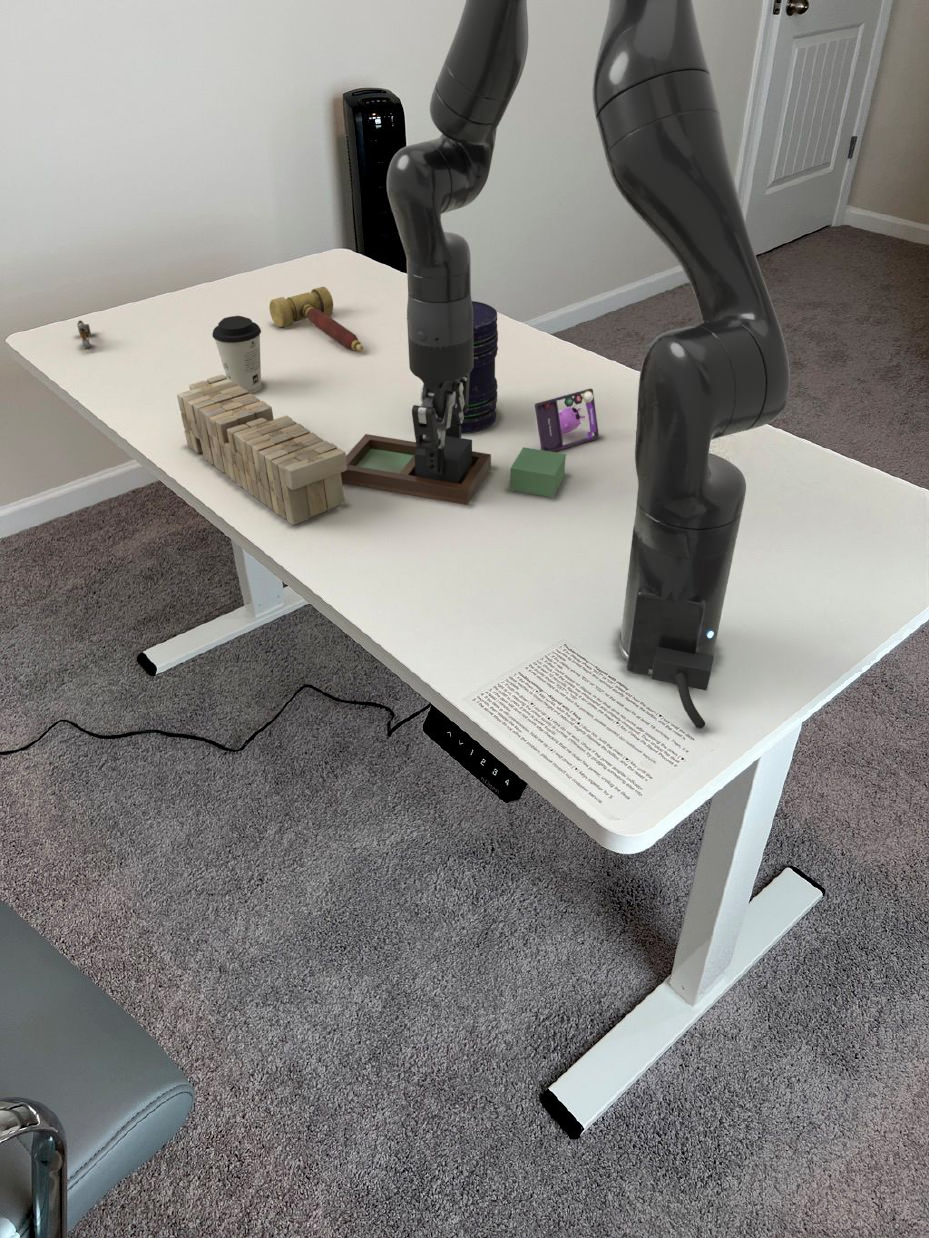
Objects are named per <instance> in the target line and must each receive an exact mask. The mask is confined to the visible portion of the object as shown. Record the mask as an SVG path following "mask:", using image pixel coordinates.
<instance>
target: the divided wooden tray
mask: <svg viewBox="0 0 929 1238" xmlns="http://www.w3.org/2000/svg"><path fill="white" fill-rule="evenodd" d="M417 450H418V448H417V447H416V441H411V440H405V439H399V438H393V437H386V436H379V435H373V434H369V433H365V434H364V435H363V436H362V437H361V438H360V439H359V441H358V442H357V443H356V444H355V445H354V446H353V447H352V448H351V449H350V451H348V453H346V463H347V470H346V471H344V472H341V478H342V484H346V485H347V484H348V485H352V486H359V487H364V488H368V489H369V488H370V489H376V490H381V491H386V492H393V493H398V494H404V495H408V496H409V495H410V496H415V497H420V498H427V499H430V500H431V499H432V500H438V501H443V502H449V503H455V504H461V505H464V506H468V505H469V504H470V502H471V500H472V498H473V497H474V496H475V494H476V493H477V491H478V489H479V487H480V486H481V485H482V483H483V482H484V481H485V479H486V477H487V475H488V474H489V473H490V470H492V454H491V453H486V452H480V451H474V450H472V463H471V465H470V466H469V468H468V469H467V471H466V472H465V473H464V475H463V476H462V478H461V479H460V481H459V482H458V483H452V482H446V481H440V480H434V479H428V478H423V477H417V476H416V474H415V453H416V451H417Z"/></svg>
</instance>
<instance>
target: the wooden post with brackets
mask: <svg viewBox="0 0 929 1238" xmlns="http://www.w3.org/2000/svg"><path fill="white" fill-rule="evenodd" d="M76 327H77V330H78V334H79V337H81V339H82V340H81V343H82V346H83V348H84V350H90V346H91V344H90V340H89V339H87V336H92V332H91V328H90V325H89V323H84V322H83V320H78V321H77V326H76Z"/></svg>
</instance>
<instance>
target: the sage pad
mask: <svg viewBox="0 0 929 1238" xmlns="http://www.w3.org/2000/svg"><path fill="white" fill-rule="evenodd" d="M566 458H567V454H566V453H562V452H557V451H554V452H550V451H543V450H541V449H537V448H530V447H522V449H521V450H520V452H519V453H518V455H517V457H516V458H515V460H514V462H513V463H512V465H511V466H510V472H509V491H511V492H516V493H517V492H518V493H523V494H528V495H529V494H530V495H535V496H540V497H546V498H554V497H555V495H556V493H557V491H558V489H559V487H560V485H561V484H562V482H563V480H564V478H565V474H566V473H565V472H566Z"/></svg>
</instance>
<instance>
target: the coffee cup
mask: <svg viewBox="0 0 929 1238" xmlns="http://www.w3.org/2000/svg"><path fill="white" fill-rule="evenodd" d="M261 333H262V330H261V327H260V326H259V325H258V324H257V323H256V322H253V320H252V319H251V318H249V317H246V316H244V315H243V316H242V315H232V316H227V317H224V318H222V319H221V320H220V321H219V322H218V323H217V325H216V326H215V327H214V328H213V330H212V338H213V339H214V341H215V344H216V347H217V348H216V349H217V351H218V354H219V358H220V361H221V364H222V367H223V370H224V374H225V376H226V377H227V379H229V380H231V381H232V382H234V383H236V384H237V385H238V386H241V387H242V388H243V389H246V390H247V391H249V394H254V393H257V392H258V391H260V390H261V388H262V365H261V336H260V335H261Z"/></svg>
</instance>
